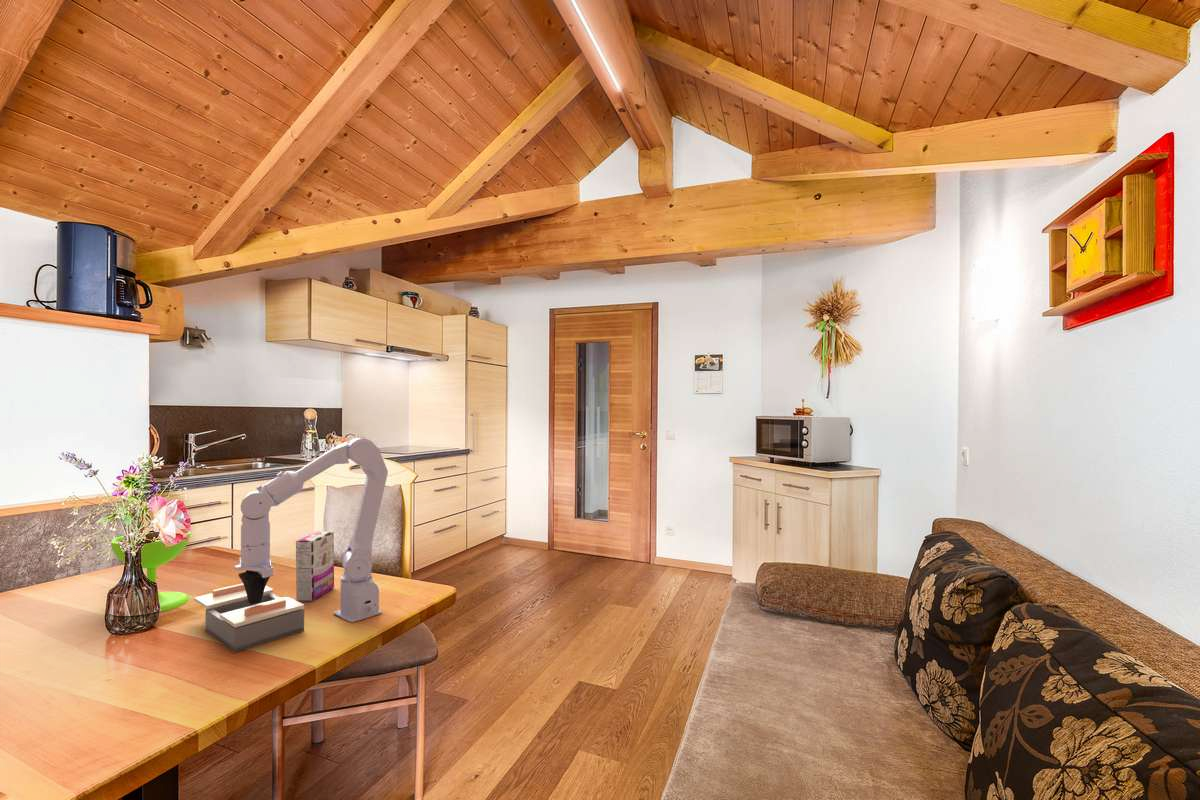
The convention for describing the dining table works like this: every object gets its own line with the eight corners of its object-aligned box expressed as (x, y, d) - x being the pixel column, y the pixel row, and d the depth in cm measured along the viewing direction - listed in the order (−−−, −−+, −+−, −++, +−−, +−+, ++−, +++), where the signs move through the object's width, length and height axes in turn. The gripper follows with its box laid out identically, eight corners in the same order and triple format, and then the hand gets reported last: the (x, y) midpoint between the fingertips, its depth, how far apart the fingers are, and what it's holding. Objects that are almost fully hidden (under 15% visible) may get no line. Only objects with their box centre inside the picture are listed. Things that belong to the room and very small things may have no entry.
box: (304, 631, 125) (304, 609, 125) (234, 652, 114) (234, 629, 114) (271, 613, 136) (271, 593, 136) (205, 631, 125) (205, 609, 125)
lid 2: (304, 608, 125) (304, 598, 125) (234, 627, 114) (234, 617, 114) (287, 599, 130) (287, 590, 130) (219, 617, 119) (219, 607, 119)
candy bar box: (317, 587, 155) (317, 530, 155) (334, 588, 154) (335, 530, 155) (294, 601, 143) (294, 540, 144) (313, 602, 143) (313, 540, 144)
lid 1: (273, 592, 135) (273, 583, 135) (206, 609, 124) (207, 599, 124) (258, 585, 141) (258, 577, 141) (194, 600, 129) (194, 591, 129)
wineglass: (94, 619, 131) (95, 545, 131) (132, 597, 147) (132, 531, 147) (171, 613, 135) (172, 541, 136) (200, 592, 151) (200, 527, 151)
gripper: (224, 542, 126) (223, 600, 126) (248, 552, 117) (247, 615, 117) (257, 536, 132) (257, 592, 131) (283, 545, 123) (282, 605, 123)
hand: (255, 602), depth 125 cm, fingers closed
